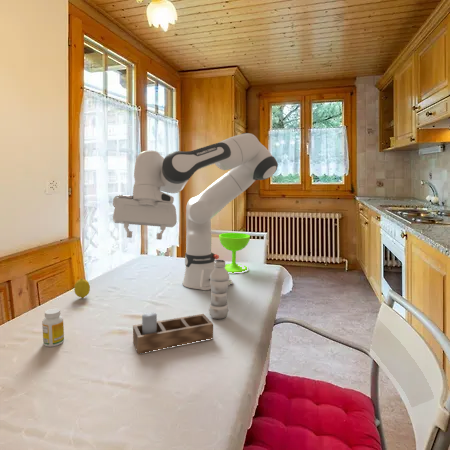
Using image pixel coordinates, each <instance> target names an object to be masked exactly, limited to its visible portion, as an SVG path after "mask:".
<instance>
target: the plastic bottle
mask: <svg viewBox="0 0 450 450" xmlns="http://www.w3.org/2000/svg"><path fill="white" fill-rule="evenodd" d="M225 264H226V260H224V259H215V261H214V267H215V268H214V270H213V271H212V272H211V275H210V282H211V289H210V291H211V293H210V296H211V297H210V303H209V307H208V313H209V314H208V315H209V316H210V317H211V318H212V319H214V320H221V319H225V318H226V317H227V316H228V314H229V305H228V289H229V288H228V287H229V285H228V282H229V278H230V274H228V272H227V270H226V269H225V267H226V265H225Z"/></svg>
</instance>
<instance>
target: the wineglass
mask: <svg viewBox="0 0 450 450" xmlns="http://www.w3.org/2000/svg"><path fill="white" fill-rule="evenodd" d="M218 238H219V242H220V245H221V246H223V248H225V249H226V250H228V251H231V263H227V264H226V263H225V265H226V267H225V269H226V270H227V272H232V273H234V272H242V271H245V270H247V265H244V267H245V269H242V267H240V266H238V264H239V263H238V264H237V263H236V261H237V259H236V257H237V252H238V251H241V250H243V249H245V248H246V246H248V244H249V242H250V239H251V235H250V234H247V233H243V232H223V233H220V234H218Z"/></svg>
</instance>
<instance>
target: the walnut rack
mask: <svg viewBox="0 0 450 450" xmlns="http://www.w3.org/2000/svg"><path fill="white" fill-rule="evenodd" d="M211 338H213V339H214V323H213V322H212V321H211V320H210V319H209V318H208V317H207V316H206V315H205V314H204V313H199V314H193V315H187V316H181V317H176V318H169V319H163V320H157V332H156V333H151V334H145V335H142V323H138V324H132V341H133V345H134V344H135V345H134V347H135V350H136V349H137V350H136V352H137V355H138V354H140V353H145V352H149V351H153V350H158V349H163V348H167V347H172V346H177V345H182V344H187V343H192V342H196V341H201V340H206V339H211ZM145 354H146V353H145ZM140 355H141V354H140Z"/></svg>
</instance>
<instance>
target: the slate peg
mask: <svg viewBox="0 0 450 450" xmlns="http://www.w3.org/2000/svg"><path fill="white" fill-rule="evenodd" d="M157 315H158V314H157V313H156V312H145V313H143V314H142V315H141V319H142V320H141V324H142V335H145V334H151V333H156V332H157V321H158V318H157V317H158V316H157Z"/></svg>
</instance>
